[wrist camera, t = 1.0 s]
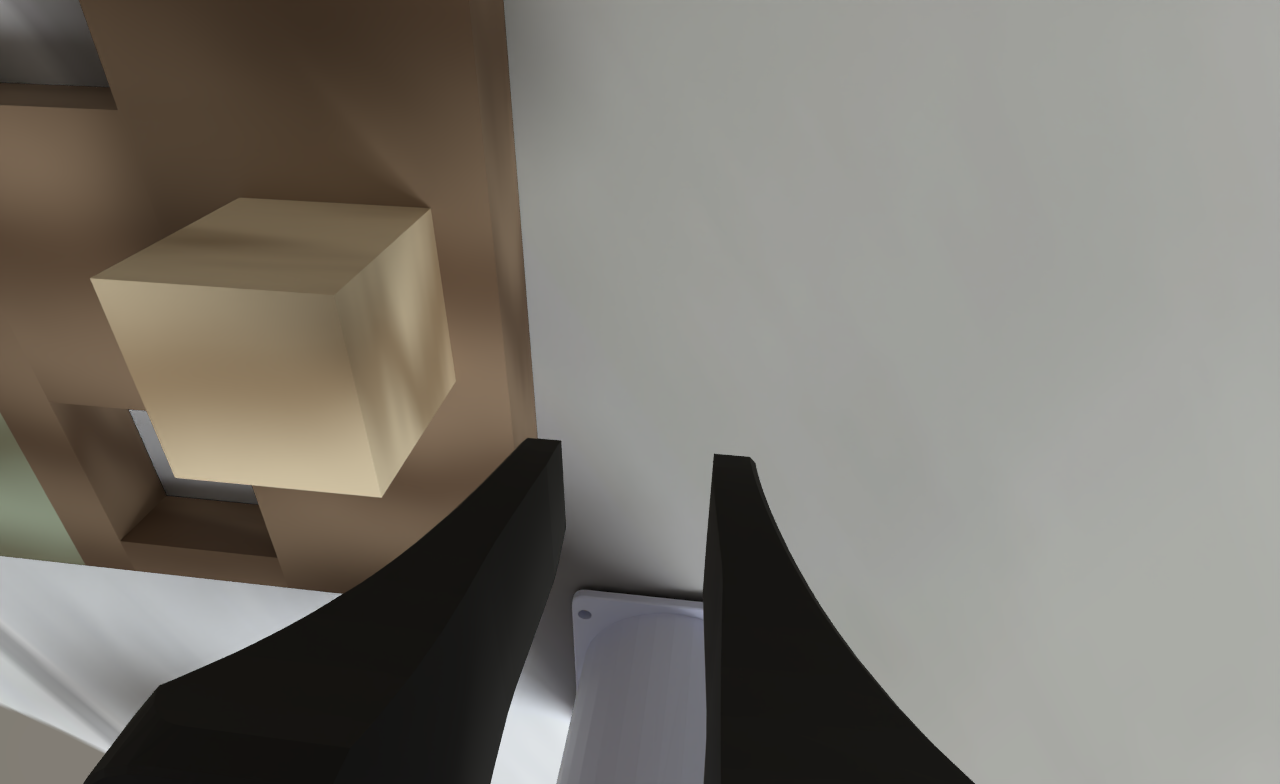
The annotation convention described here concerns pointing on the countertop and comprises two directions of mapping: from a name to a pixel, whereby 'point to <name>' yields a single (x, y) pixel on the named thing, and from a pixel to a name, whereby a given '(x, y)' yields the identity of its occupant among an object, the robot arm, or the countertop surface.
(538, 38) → the countertop surface
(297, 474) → the maple cube
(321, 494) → the trap board
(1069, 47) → the countertop surface
